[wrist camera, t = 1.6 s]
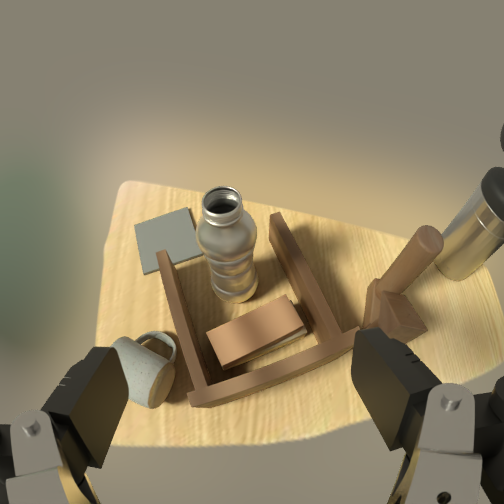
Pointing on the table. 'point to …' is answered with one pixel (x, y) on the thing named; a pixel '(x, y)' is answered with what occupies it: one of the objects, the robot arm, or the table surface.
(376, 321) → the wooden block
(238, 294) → the silver bottle
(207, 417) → the table surface
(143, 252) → the slate mat
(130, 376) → the ceramic mug
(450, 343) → the table surface
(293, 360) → the walnut rack
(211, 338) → the tan rectangular block
